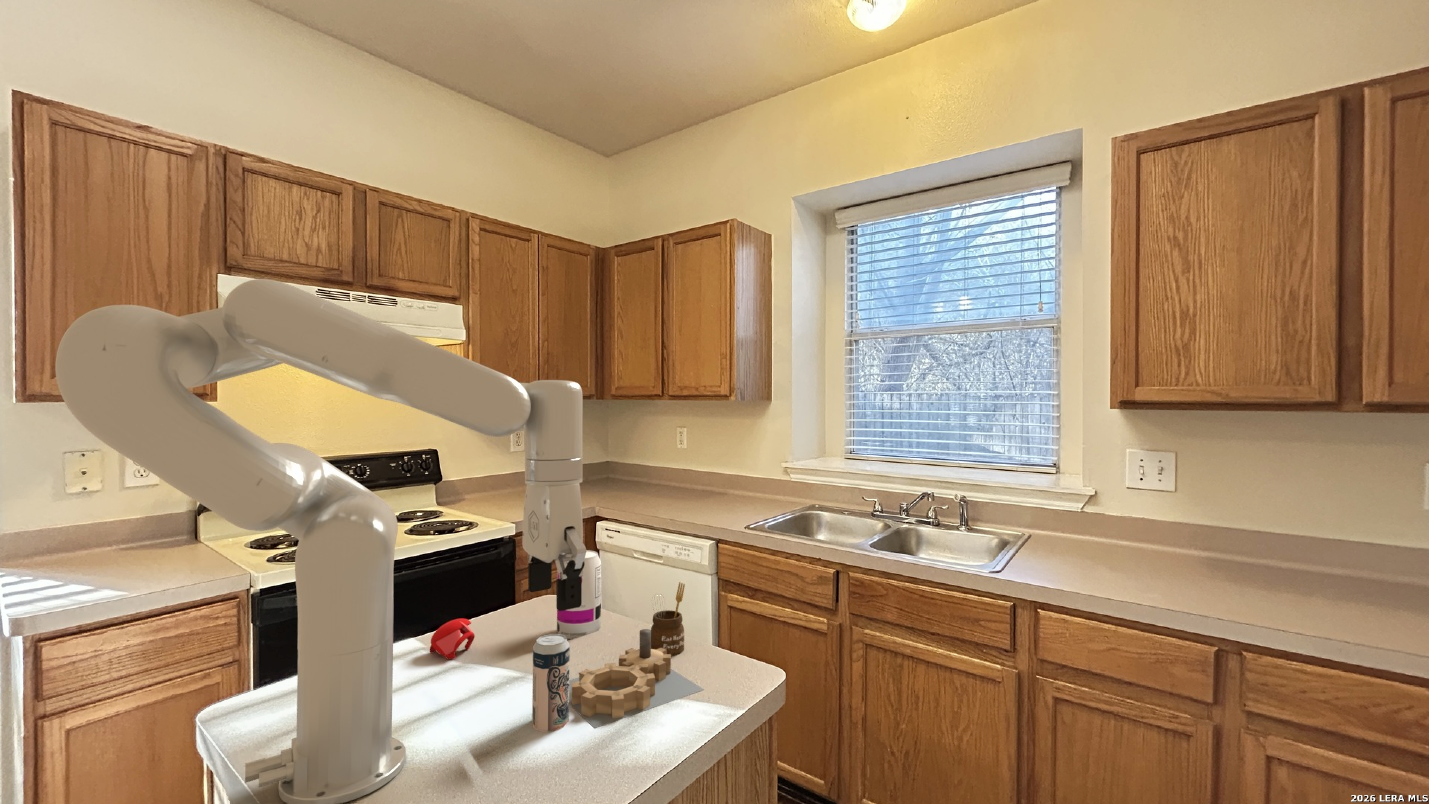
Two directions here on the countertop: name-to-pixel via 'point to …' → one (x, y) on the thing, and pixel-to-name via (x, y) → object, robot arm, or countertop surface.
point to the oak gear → (613, 701)
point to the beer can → (550, 682)
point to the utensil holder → (668, 627)
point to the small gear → (648, 657)
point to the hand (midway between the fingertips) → (553, 598)
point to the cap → (451, 637)
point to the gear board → (664, 693)
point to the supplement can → (584, 602)
